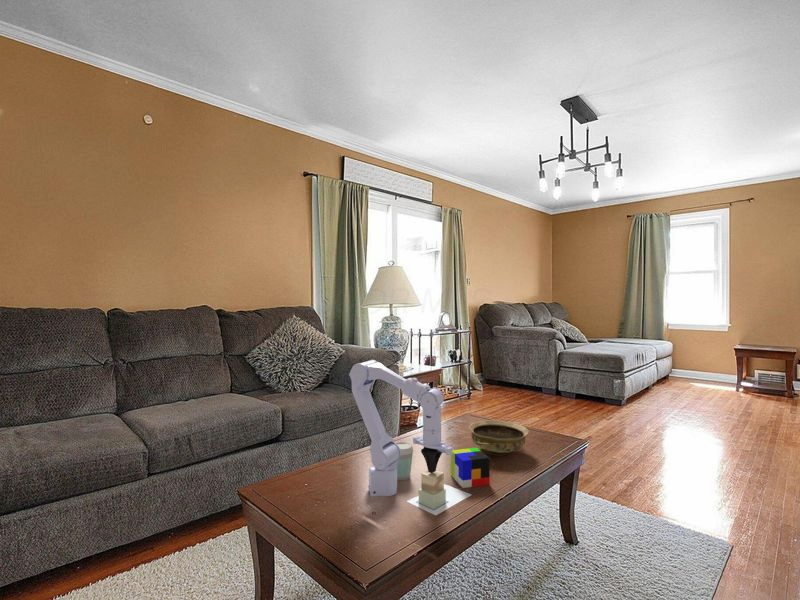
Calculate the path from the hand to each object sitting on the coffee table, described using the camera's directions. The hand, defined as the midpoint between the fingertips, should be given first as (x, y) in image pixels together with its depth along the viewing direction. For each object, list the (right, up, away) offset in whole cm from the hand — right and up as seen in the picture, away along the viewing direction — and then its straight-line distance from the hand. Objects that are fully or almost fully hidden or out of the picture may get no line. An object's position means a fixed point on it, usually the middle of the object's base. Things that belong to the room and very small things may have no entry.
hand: (432, 471), depth 134 cm
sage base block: (0, -10, 0) cm, 10 cm away
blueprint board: (+3, -10, +3) cm, 11 cm away
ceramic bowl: (+31, -10, +44) cm, 55 cm away
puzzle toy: (+14, -10, +16) cm, 24 cm away
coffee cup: (-9, -10, +19) cm, 23 cm away
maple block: (0, -6, 0) cm, 6 cm away
